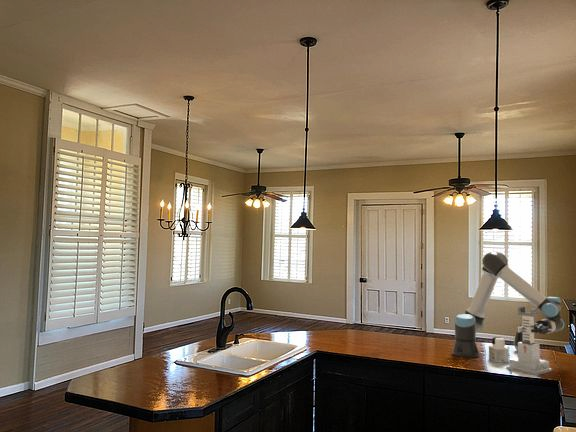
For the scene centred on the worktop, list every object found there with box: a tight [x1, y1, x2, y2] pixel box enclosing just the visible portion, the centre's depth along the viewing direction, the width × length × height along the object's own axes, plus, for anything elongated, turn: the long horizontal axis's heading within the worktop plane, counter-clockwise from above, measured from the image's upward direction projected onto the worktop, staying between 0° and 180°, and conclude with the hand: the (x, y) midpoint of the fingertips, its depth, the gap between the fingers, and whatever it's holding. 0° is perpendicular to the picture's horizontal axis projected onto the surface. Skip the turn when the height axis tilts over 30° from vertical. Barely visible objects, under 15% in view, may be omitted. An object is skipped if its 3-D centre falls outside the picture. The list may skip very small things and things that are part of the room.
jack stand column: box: [517, 306, 539, 345], centre depth 245 cm, size 8×5×30 cm, turn 35°
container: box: [488, 336, 510, 363], centre depth 263 cm, size 8×8×13 cm
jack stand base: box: [505, 341, 553, 376], centre depth 245 cm, size 16×16×15 cm
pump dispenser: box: [513, 329, 523, 352], centre depth 286 cm, size 10×10×15 cm
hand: (522, 330), depth 242 cm, fingers closed on jack stand column, 4 cm apart
